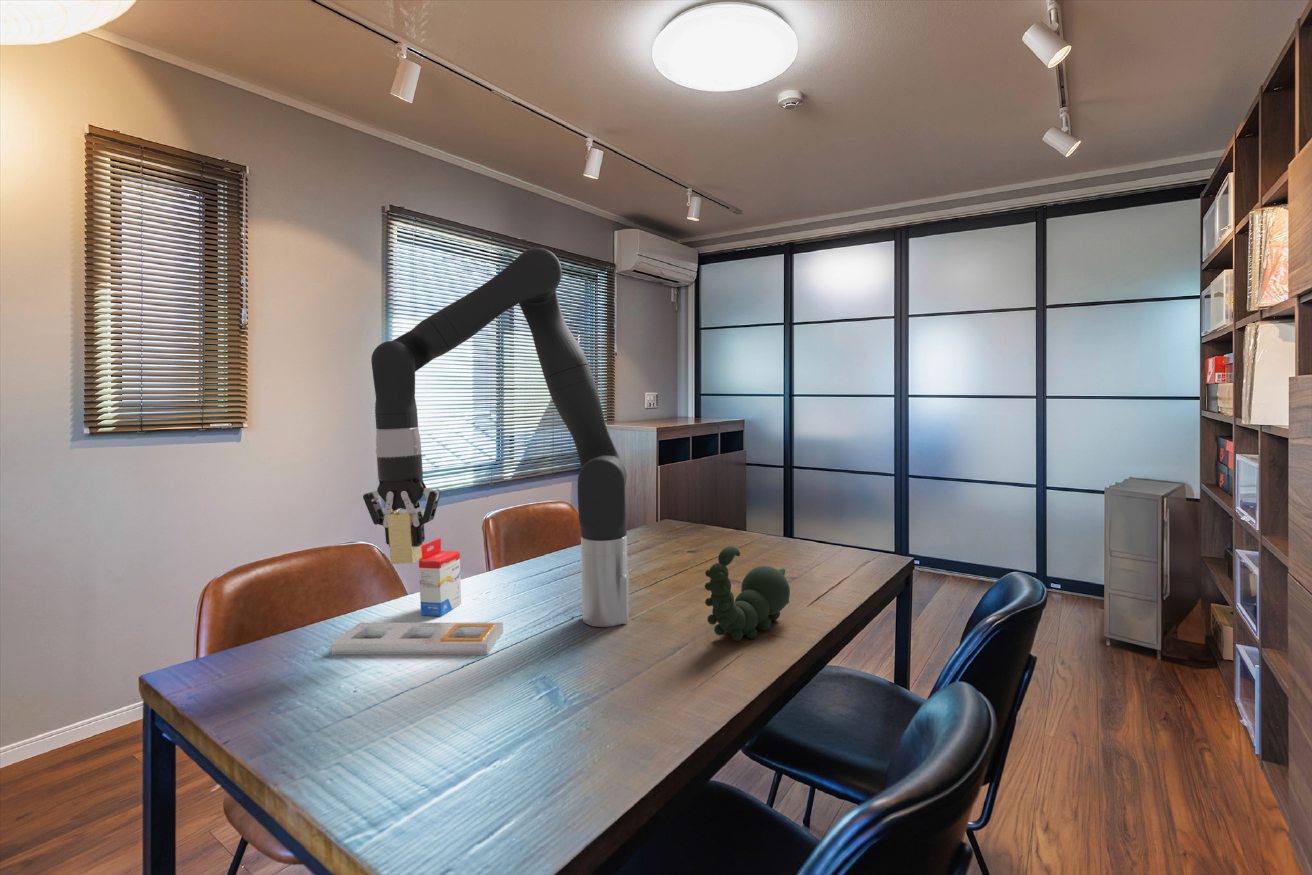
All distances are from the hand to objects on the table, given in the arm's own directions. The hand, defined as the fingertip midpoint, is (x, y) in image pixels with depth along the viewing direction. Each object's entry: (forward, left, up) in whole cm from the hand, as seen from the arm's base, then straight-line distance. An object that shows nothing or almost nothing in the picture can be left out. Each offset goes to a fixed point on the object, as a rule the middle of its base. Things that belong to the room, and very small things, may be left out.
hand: (405, 545), depth 112 cm
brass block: (0, 0, -3) cm, 3 cm away
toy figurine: (-64, -7, -19) cm, 67 cm away
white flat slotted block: (-2, 0, -18) cm, 19 cm away
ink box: (+1, -18, -19) cm, 26 cm away
